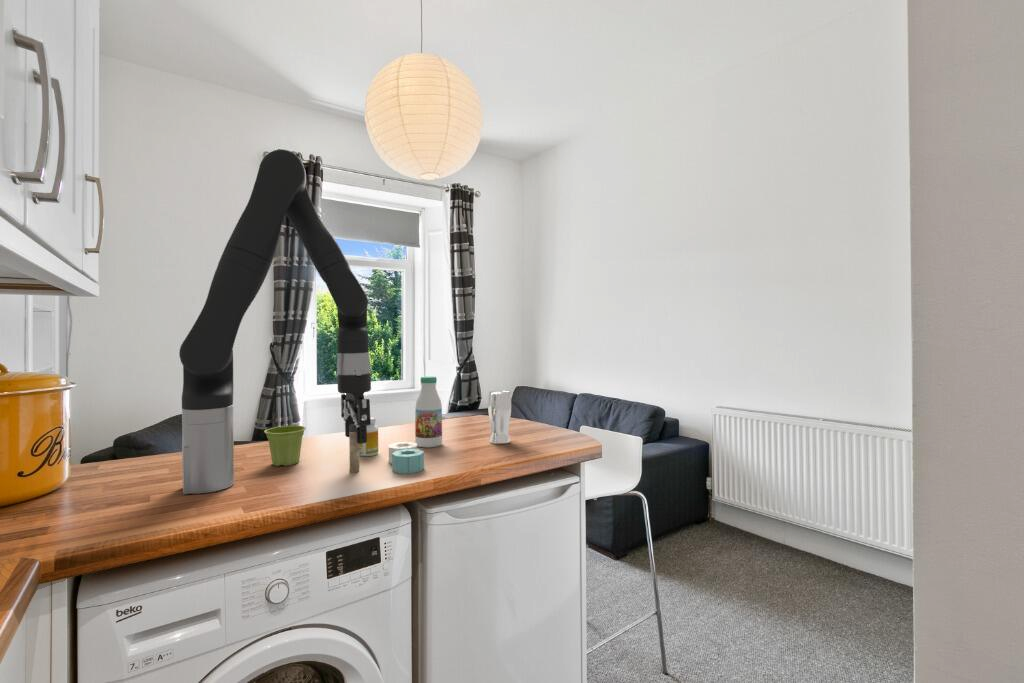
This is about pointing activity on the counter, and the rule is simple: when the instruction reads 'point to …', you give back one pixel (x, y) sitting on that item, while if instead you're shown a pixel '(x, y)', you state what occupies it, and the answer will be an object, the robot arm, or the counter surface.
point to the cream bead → (400, 448)
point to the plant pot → (285, 444)
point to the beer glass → (499, 416)
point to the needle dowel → (353, 449)
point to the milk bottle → (428, 415)
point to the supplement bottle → (370, 440)
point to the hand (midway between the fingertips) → (355, 439)
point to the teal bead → (408, 461)
